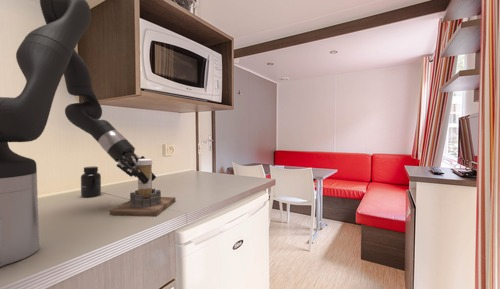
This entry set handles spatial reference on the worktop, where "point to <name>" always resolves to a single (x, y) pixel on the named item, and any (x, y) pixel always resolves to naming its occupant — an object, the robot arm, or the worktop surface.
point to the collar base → (143, 210)
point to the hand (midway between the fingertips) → (150, 180)
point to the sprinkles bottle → (146, 168)
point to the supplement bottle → (90, 182)
